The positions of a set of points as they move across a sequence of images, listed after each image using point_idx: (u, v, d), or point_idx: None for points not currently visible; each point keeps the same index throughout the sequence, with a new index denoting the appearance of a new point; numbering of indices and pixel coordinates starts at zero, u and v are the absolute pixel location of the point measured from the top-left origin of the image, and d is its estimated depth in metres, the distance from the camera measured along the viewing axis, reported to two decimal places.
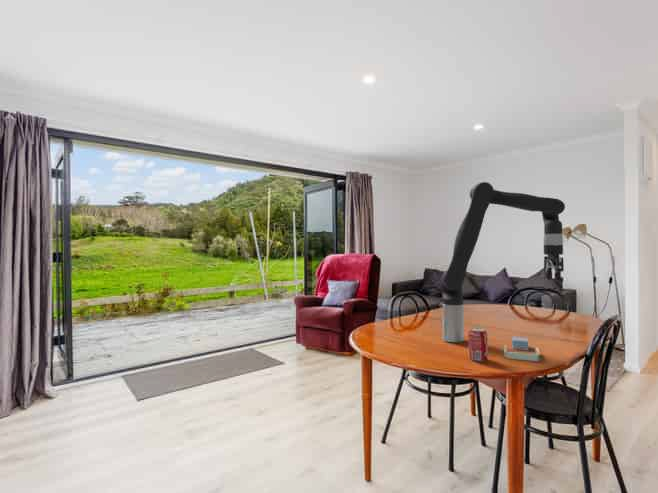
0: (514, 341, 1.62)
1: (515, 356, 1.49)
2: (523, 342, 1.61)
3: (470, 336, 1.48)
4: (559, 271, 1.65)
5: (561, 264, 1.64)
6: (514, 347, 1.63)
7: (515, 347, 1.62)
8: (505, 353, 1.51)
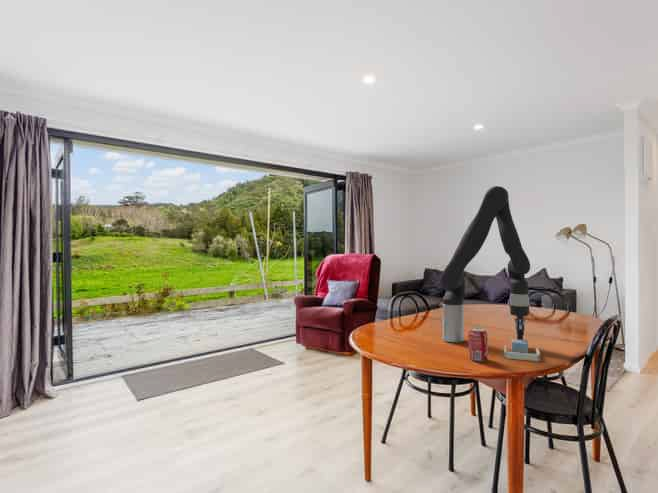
0: (514, 343, 1.59)
1: (515, 356, 1.49)
2: (523, 344, 1.57)
3: (470, 336, 1.48)
4: None
5: None
6: (514, 349, 1.59)
7: (515, 349, 1.59)
8: (505, 353, 1.51)
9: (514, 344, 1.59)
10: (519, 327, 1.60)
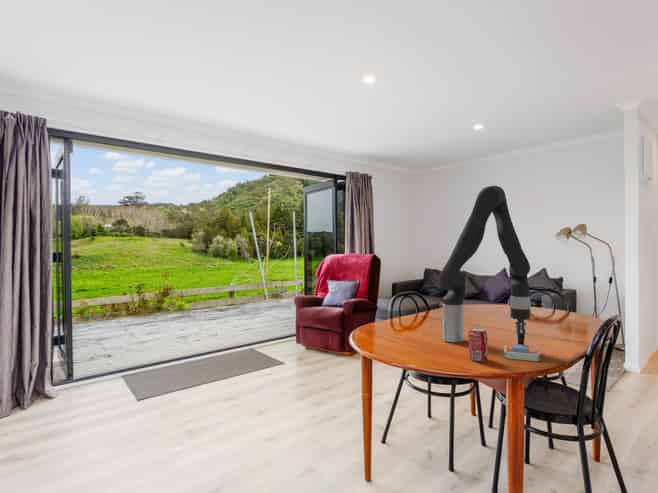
0: (514, 348, 1.52)
1: (515, 356, 1.49)
2: (524, 350, 1.51)
3: (470, 336, 1.48)
4: None
5: None
6: None
7: None
8: (505, 353, 1.51)
9: (515, 349, 1.52)
10: (520, 331, 1.53)
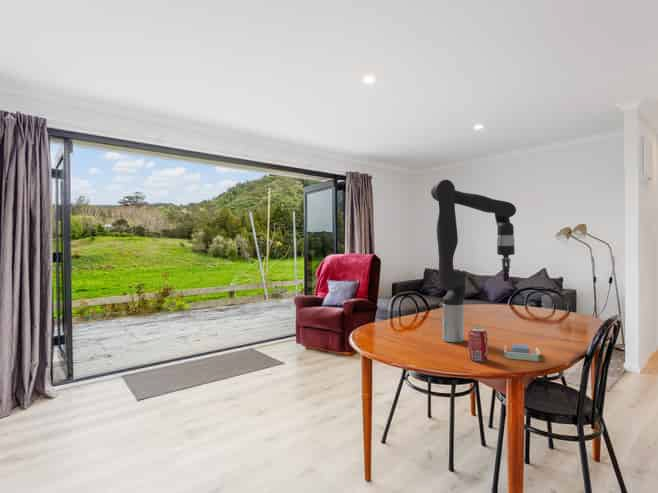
0: (515, 349, 1.51)
1: (515, 356, 1.49)
2: (524, 349, 1.50)
3: (470, 336, 1.48)
4: None
5: None
6: None
7: None
8: (505, 353, 1.51)
9: (515, 349, 1.51)
10: (505, 264, 1.77)
